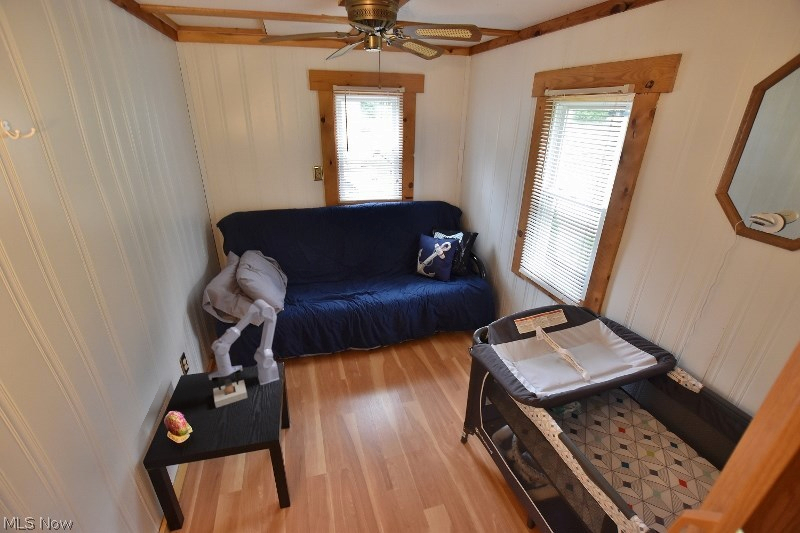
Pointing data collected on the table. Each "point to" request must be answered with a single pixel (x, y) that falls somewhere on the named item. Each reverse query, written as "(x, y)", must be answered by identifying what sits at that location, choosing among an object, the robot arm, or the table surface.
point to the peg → (228, 386)
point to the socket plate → (230, 398)
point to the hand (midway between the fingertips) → (228, 386)
